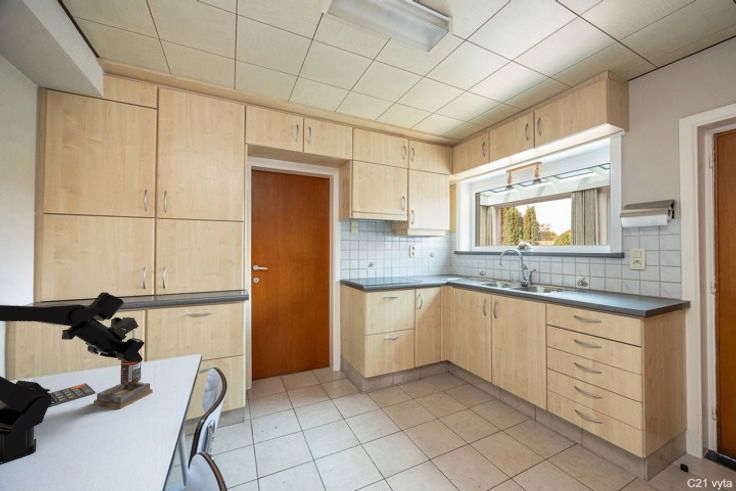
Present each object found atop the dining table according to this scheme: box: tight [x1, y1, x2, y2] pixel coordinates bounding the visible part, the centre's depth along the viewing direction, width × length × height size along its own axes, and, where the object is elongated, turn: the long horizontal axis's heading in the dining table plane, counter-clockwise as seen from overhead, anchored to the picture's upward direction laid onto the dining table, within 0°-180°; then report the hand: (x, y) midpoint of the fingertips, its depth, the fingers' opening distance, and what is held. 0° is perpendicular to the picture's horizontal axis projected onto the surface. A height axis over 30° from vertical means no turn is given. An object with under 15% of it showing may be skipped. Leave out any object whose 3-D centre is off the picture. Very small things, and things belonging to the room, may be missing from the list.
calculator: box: [48, 382, 96, 409], centre depth 96 cm, size 12×1×15 cm
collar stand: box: [93, 381, 154, 410], centre depth 95 cm, size 10×10×3 cm
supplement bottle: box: [120, 360, 142, 385], centre depth 95 cm, size 5×5×10 cm
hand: (136, 359), depth 96 cm, fingers closed on supplement bottle, 5 cm apart
